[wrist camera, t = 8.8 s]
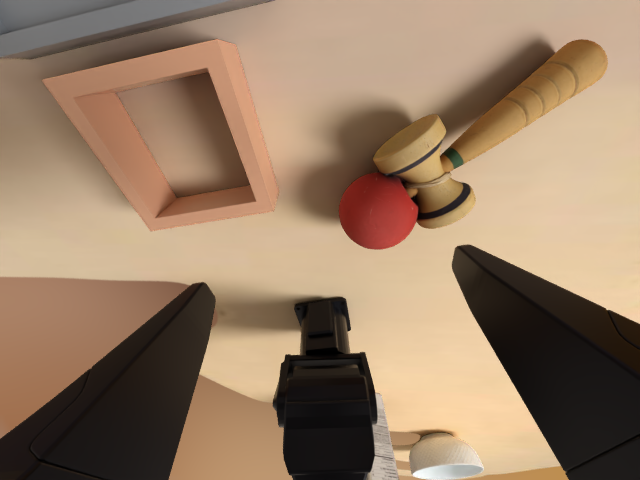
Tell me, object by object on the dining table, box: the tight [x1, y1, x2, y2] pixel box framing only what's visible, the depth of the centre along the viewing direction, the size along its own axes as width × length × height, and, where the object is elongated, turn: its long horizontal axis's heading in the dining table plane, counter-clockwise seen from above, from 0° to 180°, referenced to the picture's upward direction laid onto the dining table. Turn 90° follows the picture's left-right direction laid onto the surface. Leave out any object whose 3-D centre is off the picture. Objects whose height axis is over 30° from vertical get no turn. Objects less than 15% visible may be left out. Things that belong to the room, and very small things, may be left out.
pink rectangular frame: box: [42, 39, 279, 231], centre depth 17 cm, size 10×10×4 cm
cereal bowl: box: [409, 433, 484, 480], centre depth 60 cm, size 17×17×7 cm
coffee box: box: [366, 393, 399, 480], centre depth 41 cm, size 9×6×16 cm
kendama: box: [339, 40, 608, 249], centre depth 17 cm, size 8×6×18 cm
